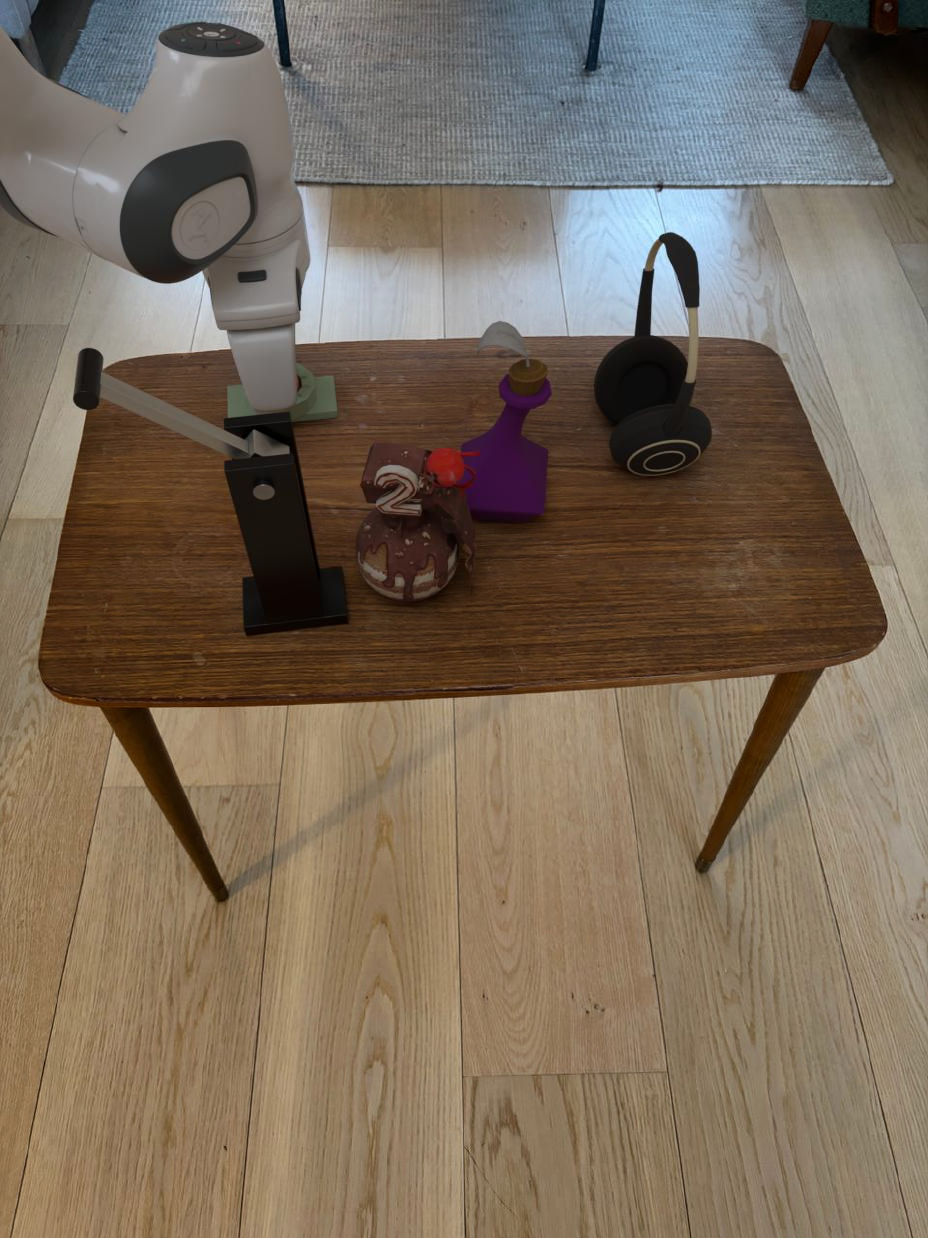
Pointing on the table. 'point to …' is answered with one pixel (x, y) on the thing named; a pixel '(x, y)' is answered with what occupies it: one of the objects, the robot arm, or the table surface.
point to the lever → (163, 411)
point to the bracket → (280, 537)
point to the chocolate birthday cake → (414, 520)
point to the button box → (311, 398)
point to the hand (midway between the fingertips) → (279, 380)
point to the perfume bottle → (509, 442)
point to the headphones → (655, 380)
